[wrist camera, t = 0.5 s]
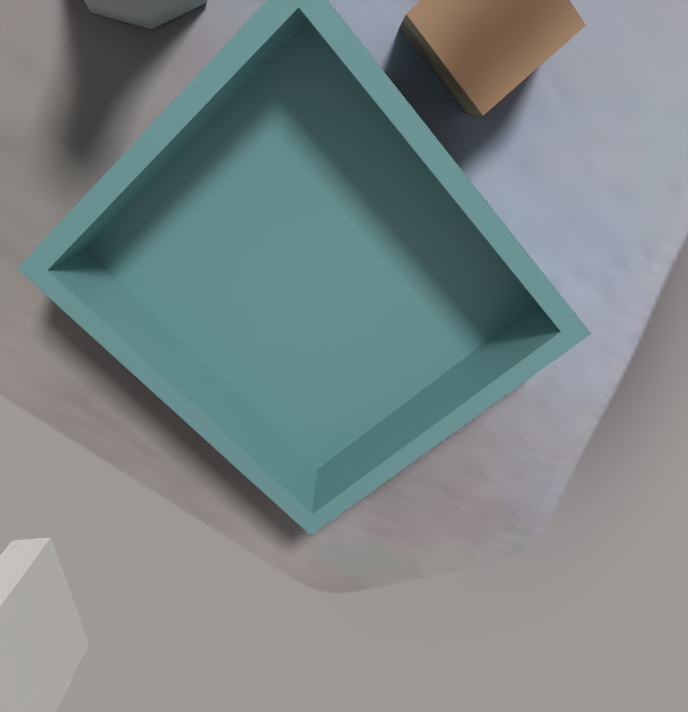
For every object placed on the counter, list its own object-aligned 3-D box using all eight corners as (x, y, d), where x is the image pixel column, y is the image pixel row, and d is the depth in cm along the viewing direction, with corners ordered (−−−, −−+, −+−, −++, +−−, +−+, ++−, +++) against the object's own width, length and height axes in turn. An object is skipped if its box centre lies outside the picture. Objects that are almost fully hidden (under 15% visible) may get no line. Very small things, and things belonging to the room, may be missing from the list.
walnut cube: (399, 27, 29) (406, 14, 24) (486, -57, 28) (510, -88, 23) (464, 113, 30) (483, 115, 26) (550, 36, 29) (585, 25, 24)
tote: (64, 244, 33) (16, 268, 29) (309, -14, 28) (299, -35, 24) (316, 483, 39) (311, 535, 34) (559, 301, 34) (591, 333, 29)
